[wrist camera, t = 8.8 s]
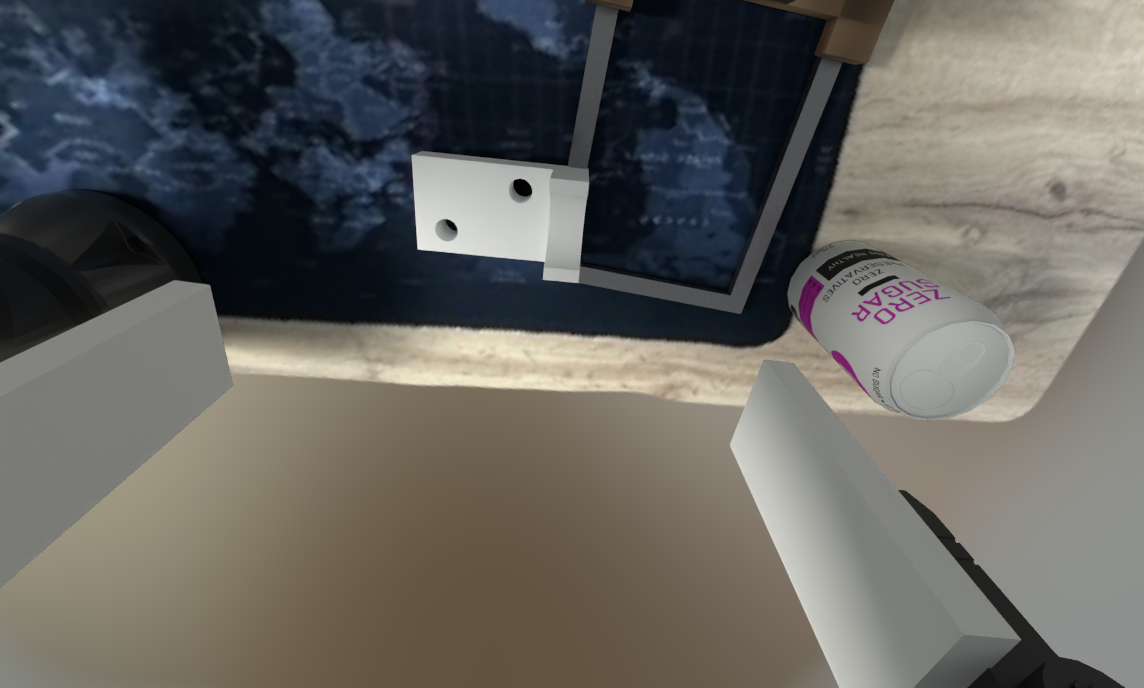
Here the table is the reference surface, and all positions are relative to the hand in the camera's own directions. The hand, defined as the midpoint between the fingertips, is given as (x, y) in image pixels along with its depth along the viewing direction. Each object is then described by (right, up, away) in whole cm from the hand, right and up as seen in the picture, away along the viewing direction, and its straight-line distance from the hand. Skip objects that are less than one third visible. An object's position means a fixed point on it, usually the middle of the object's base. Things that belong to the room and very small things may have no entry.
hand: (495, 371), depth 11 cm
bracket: (-4, +13, +27) cm, 30 cm away
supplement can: (+25, +6, +30) cm, 39 cm away
